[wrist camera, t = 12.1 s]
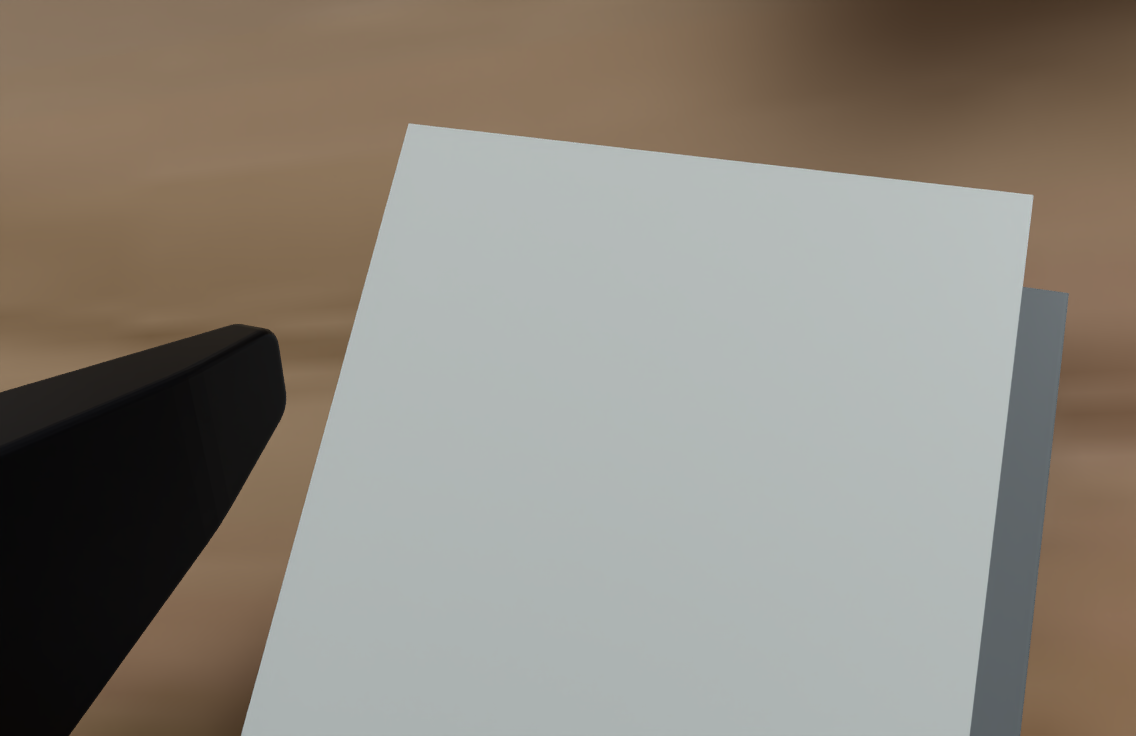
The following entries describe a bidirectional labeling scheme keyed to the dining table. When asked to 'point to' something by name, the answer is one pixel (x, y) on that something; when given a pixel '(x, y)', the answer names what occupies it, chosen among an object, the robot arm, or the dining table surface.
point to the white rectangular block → (654, 453)
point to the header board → (1019, 515)
